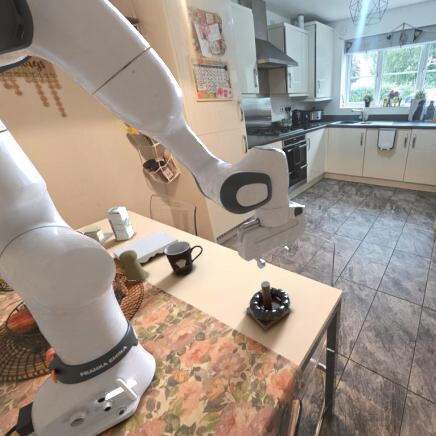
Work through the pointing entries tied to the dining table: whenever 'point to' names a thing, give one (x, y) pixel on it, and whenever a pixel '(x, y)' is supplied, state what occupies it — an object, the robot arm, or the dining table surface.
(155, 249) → the food packaging
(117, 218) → the syrup box
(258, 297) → the ring
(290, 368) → the dining table surface
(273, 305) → the peg stand
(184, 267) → the coffee mug
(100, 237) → the stacked layers on plate
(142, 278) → the olive flared cylinder
